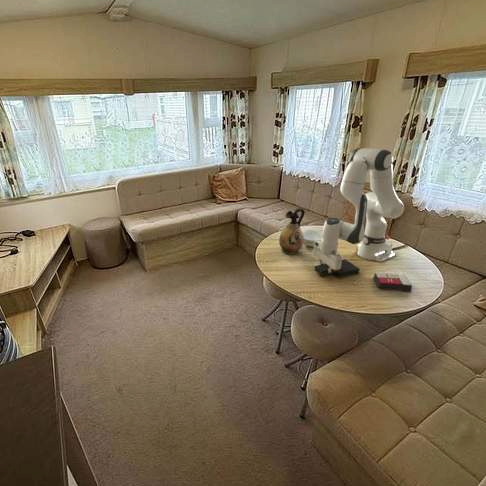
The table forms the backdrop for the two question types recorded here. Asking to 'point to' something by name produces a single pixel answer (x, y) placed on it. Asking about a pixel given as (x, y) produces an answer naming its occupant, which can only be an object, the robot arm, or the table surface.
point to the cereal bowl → (311, 237)
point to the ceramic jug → (292, 233)
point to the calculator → (392, 281)
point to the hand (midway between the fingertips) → (324, 268)
